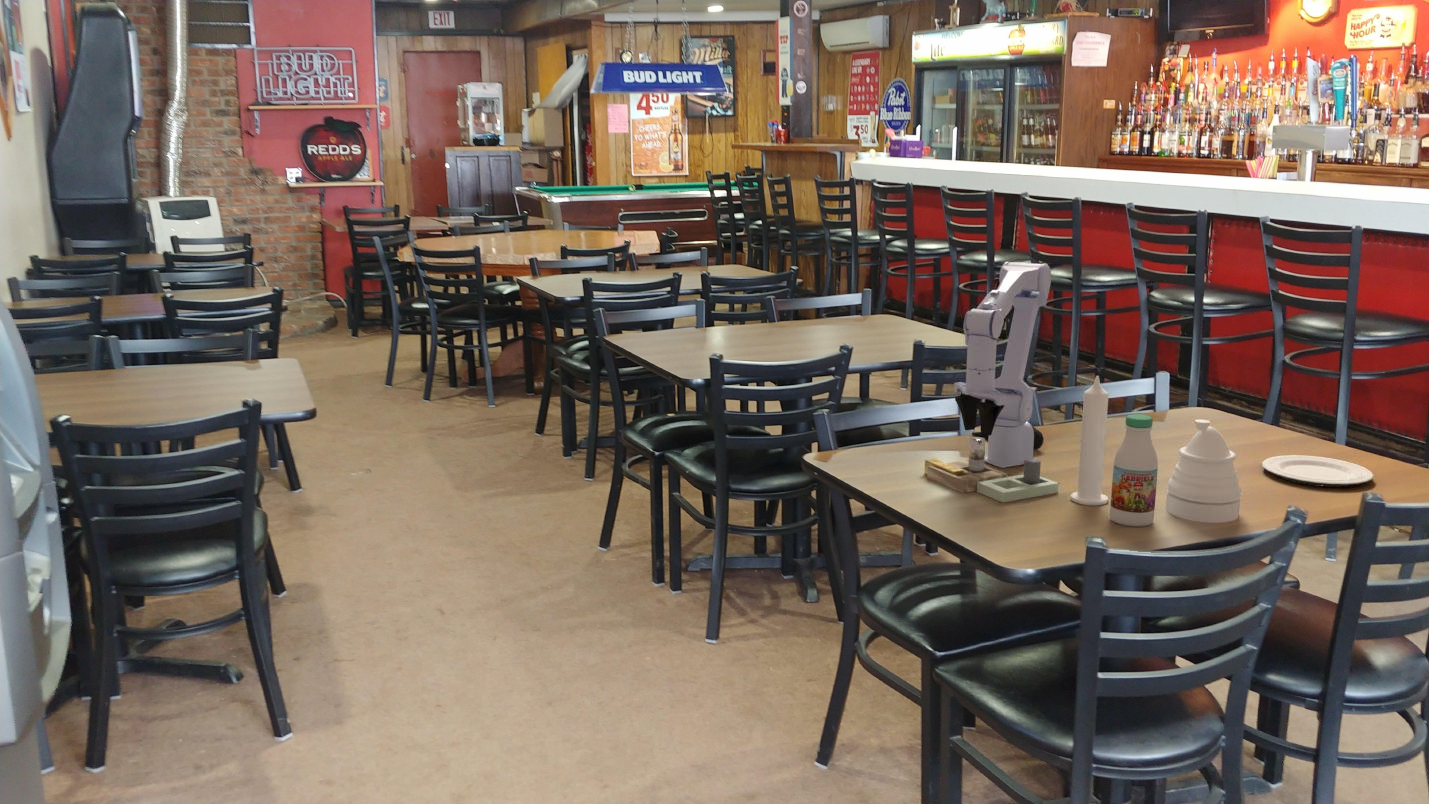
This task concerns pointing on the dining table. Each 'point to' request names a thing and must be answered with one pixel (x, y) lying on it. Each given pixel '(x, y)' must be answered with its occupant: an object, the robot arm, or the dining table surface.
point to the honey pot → (1205, 479)
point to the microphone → (1037, 438)
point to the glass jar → (976, 455)
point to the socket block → (967, 480)
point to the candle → (1092, 447)
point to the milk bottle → (1135, 475)
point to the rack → (1019, 484)
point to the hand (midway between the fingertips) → (977, 432)
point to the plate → (1317, 470)
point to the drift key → (943, 467)
